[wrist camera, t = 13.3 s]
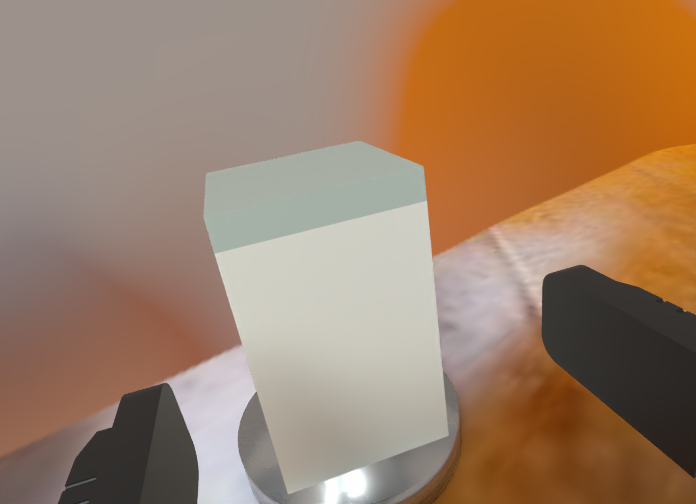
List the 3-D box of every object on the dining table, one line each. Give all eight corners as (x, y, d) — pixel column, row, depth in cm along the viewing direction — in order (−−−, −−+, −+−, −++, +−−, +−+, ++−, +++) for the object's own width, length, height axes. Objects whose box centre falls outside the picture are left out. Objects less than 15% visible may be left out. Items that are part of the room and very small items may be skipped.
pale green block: (389, 347, 22) (358, 140, 18) (448, 435, 16) (423, 166, 12) (268, 385, 20) (206, 173, 17) (288, 494, 15) (203, 217, 11)
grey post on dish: (409, 347, 24) (392, 216, 21) (508, 484, 16) (503, 301, 13) (241, 399, 22) (198, 264, 19) (255, 582, 14) (184, 397, 11)
